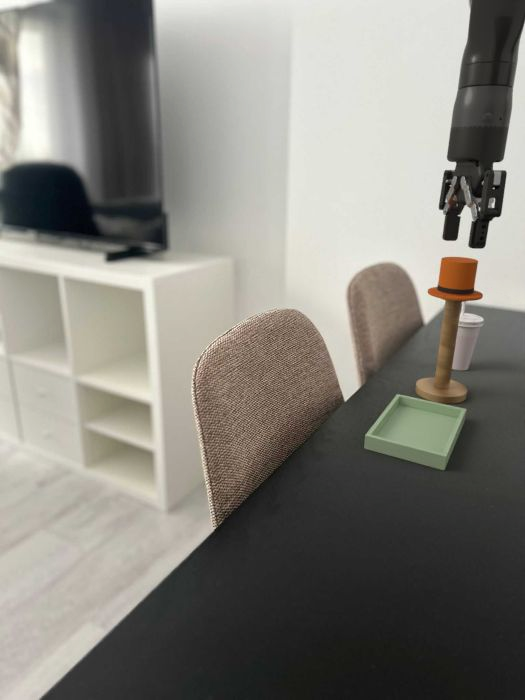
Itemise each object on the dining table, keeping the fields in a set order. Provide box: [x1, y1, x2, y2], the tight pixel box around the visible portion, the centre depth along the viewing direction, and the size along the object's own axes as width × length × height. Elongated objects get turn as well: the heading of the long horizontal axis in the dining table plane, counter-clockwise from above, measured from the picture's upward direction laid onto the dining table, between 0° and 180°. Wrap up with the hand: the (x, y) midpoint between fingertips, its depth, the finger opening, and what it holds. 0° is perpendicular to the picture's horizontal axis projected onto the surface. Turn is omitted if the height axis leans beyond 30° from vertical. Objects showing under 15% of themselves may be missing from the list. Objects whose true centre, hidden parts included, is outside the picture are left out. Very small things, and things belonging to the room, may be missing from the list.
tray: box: [363, 393, 468, 471], centre depth 71 cm, size 15×10×2 cm
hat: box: [427, 256, 484, 302], centre depth 78 cm, size 8×8×5 cm
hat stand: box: [414, 298, 468, 405], centre depth 82 cm, size 8×8×17 cm
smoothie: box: [452, 301, 485, 372], centre depth 93 cm, size 6×6×14 cm
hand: (462, 244), depth 76 cm, fingers open, 8 cm apart
